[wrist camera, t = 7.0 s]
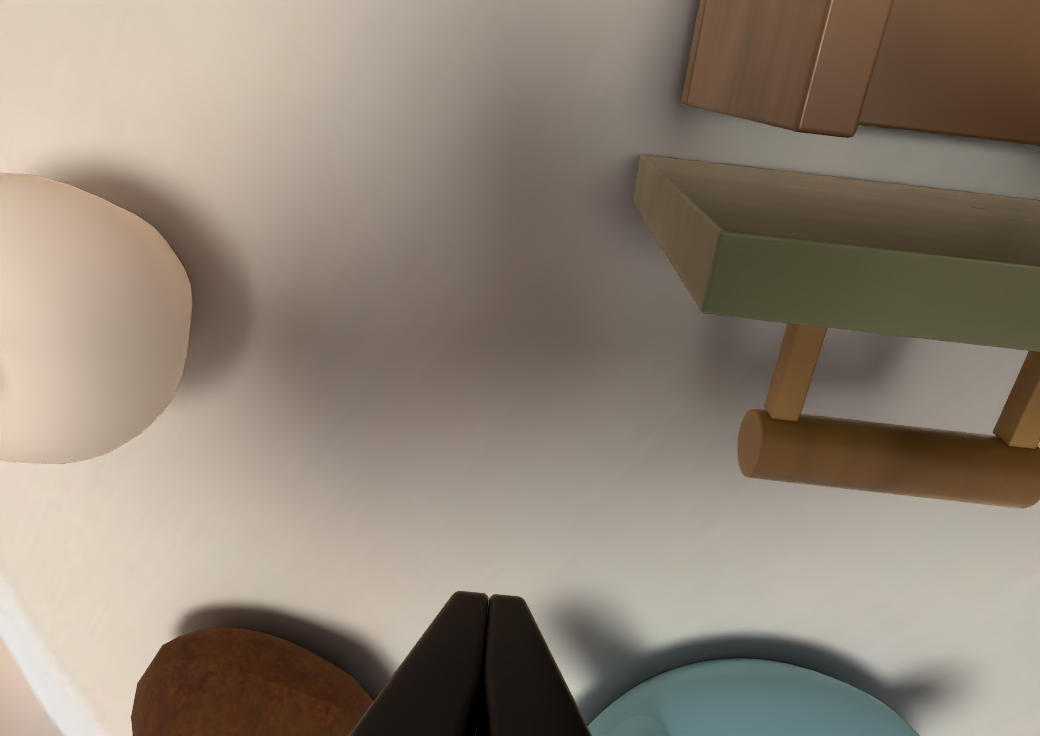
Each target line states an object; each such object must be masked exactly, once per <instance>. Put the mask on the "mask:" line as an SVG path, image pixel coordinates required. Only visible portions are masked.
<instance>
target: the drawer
mask: <svg viewBox="0 0 1040 736" xmlns="http://www.w3.org/2000/svg"><path fill="white" fill-rule="evenodd" d="M681 102H682V103H683V104H687V105H691V106H695V107H699V108H703V109H707V110H711V111H715V112H719V113H723V114H727V115H731V116H735V117H739V118H743V119H747V120H751V121H755V122H760V123H764V124H768V125H772V126H776V127H780V128H784V129H788V130H792V131H796V132H803V133H811V134H820V135H829V136H837V137H846V138H849V137H853V136H854V134H855V132H856V129H857V125H858V124H859V125H868V126H877V127H885V128H894V129H903V130H911V131H920V132H929V133H937V134H946V135H955V136H964V137H972V138H981V139H990V140H998V141H1007V142H1016V143H1024V144H1033V145H1040V0H700V3H699V8H698V13H697V18H696V24H695V29H694V34H693V40H692V45H691V50H690V55H689V61H688V66H687V71H686V77H685V82H684V87H683V93H682V98H681ZM633 203H634V205H635V206H636V208H637V209H638V211H639V213H640V214H641V216H642V217H643V219H644V221H645V222H646V224H647V225H648V227H649V229H650V230H651V232H652V234H653V235H654V237H655V238H656V240H657V242H658V243H659V245H660V246H661V248H662V250H663V251H664V253H665V254H666V256H667V258H668V259H669V261H670V262H671V264H672V266H673V267H674V269H675V270H676V272H677V274H678V275H679V277H680V278H681V280H682V282H683V283H684V285H685V286H686V288H687V290H688V291H689V293H690V294H691V296H692V298H693V299H694V301H695V302H696V304H697V306H698V307H699V309H700V310H701V312H702V313H704V314H712V315H721V316H729V317H738V318H747V319H756V320H765V321H773V322H782V323H788V324H787V327H786V331H785V334H784V338H783V341H782V345H781V348H780V352H779V355H778V359H777V362H776V366H775V369H774V373H773V377H772V380H771V384H770V387H769V391H768V394H767V398H766V401H765V405H764V407H765V409H766V410H762V409H751V410H749V411H748V412H747V413H746V415H745V416H744V418H743V421H742V423H741V427H740V431H739V436H738V462H739V466H740V469H741V472H742V474H743V475H744V476H746V477H748V478H755V479H764V480H773V481H782V482H791V483H800V484H808V485H817V486H826V487H835V488H844V489H853V490H862V491H871V492H879V493H888V494H897V495H906V496H915V497H924V498H933V499H942V500H950V501H959V502H968V503H977V504H986V505H995V506H1004V507H1012V508H1027V507H1030V506H1032V505H1034V504H1035V503H1037V502H1038V501H1039V500H1040V448H1039V447H1038V446H1037V445H1038V443H1039V441H1040V200H1031V199H1022V198H1014V197H1005V196H996V195H987V194H979V193H970V192H961V191H952V190H944V189H935V188H926V187H918V186H909V185H900V184H891V183H883V182H874V181H865V180H856V179H848V178H839V177H830V176H822V175H813V174H804V173H795V172H787V171H778V170H769V169H761V168H752V167H743V166H734V165H726V164H717V163H708V162H699V161H691V160H682V159H673V158H665V157H656V156H647V155H641V156H640V159H639V165H638V171H637V177H636V183H635V189H634V194H633ZM827 328H835V329H844V330H852V331H861V332H870V333H879V334H888V335H896V336H905V337H914V338H923V339H932V340H940V341H949V342H958V343H967V344H976V345H984V346H993V347H1002V348H1011V349H1020V350H1028V351H1029V352H1028V354H1027V357H1026V359H1025V361H1024V363H1023V366H1022V368H1021V370H1020V372H1019V374H1018V377H1017V379H1016V381H1015V383H1014V386H1013V388H1012V390H1011V392H1010V395H1009V397H1008V399H1007V401H1006V403H1005V406H1004V408H1003V410H1002V412H1001V415H1000V417H999V419H998V421H997V423H996V426H995V428H994V430H993V434H995V435H996V436H992V435H983V434H974V433H965V432H956V431H947V430H939V429H930V428H921V427H912V426H903V425H894V424H886V423H877V422H868V421H859V420H850V419H841V418H833V417H824V416H815V415H806V414H801V411H802V408H803V404H804V401H805V398H806V395H807V392H808V388H809V385H810V382H811V379H812V375H813V372H814V369H815V366H816V363H817V359H818V356H819V353H820V350H821V347H822V343H823V340H824V337H825V334H826V331H827Z"/></svg>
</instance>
